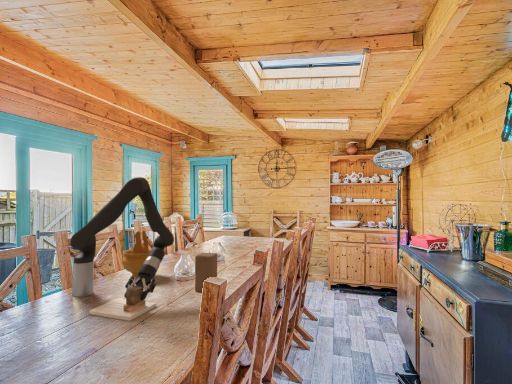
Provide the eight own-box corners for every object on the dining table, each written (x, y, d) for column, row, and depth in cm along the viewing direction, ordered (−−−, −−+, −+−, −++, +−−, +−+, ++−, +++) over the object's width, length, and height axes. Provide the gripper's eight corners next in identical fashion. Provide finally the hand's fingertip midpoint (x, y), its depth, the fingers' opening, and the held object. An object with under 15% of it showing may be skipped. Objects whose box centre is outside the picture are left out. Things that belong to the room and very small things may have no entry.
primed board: (89, 314, 136) (89, 310, 136) (118, 300, 153) (118, 297, 153) (129, 320, 129) (129, 317, 129) (156, 306, 146) (156, 302, 146)
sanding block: (123, 311, 135) (123, 290, 135) (137, 304, 144) (137, 285, 144) (132, 312, 134) (132, 291, 134) (145, 305, 143) (145, 286, 143)
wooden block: (211, 293, 165) (211, 256, 165) (194, 292, 167) (194, 255, 167) (217, 287, 175) (217, 252, 175) (201, 286, 177) (201, 252, 177)
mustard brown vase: (138, 272, 209) (138, 228, 210) (163, 275, 202) (164, 229, 202) (114, 280, 190) (114, 231, 190) (140, 283, 182) (141, 233, 182)
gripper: (134, 262, 149) (116, 293, 138) (159, 264, 144) (142, 296, 133) (141, 270, 154) (124, 301, 143) (165, 273, 149) (150, 304, 138)
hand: (133, 298), depth 138 cm, fingers open, 8 cm apart
